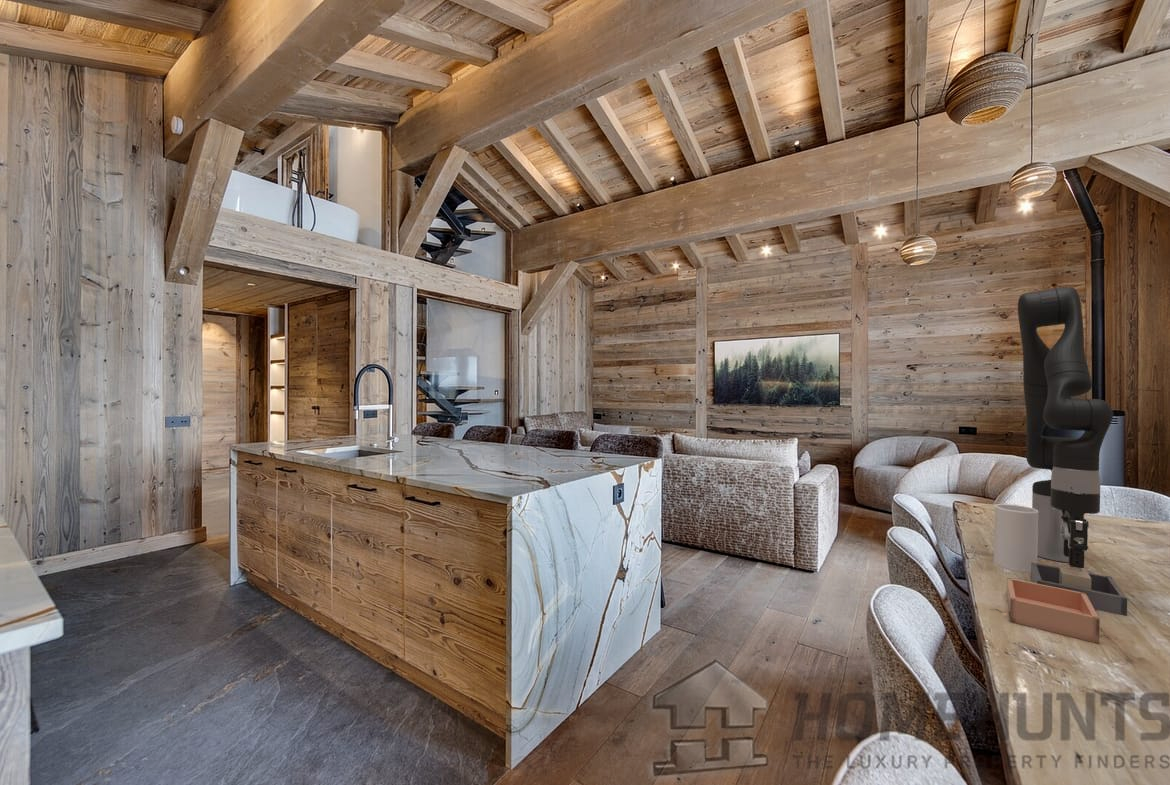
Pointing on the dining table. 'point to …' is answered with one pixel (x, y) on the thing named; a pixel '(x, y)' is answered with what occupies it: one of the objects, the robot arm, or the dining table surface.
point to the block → (1074, 578)
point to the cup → (1015, 537)
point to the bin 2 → (1101, 594)
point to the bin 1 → (1052, 609)
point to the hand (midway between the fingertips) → (1073, 561)
